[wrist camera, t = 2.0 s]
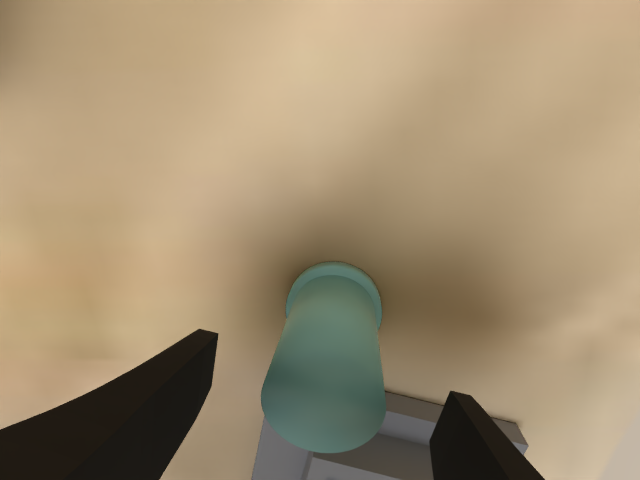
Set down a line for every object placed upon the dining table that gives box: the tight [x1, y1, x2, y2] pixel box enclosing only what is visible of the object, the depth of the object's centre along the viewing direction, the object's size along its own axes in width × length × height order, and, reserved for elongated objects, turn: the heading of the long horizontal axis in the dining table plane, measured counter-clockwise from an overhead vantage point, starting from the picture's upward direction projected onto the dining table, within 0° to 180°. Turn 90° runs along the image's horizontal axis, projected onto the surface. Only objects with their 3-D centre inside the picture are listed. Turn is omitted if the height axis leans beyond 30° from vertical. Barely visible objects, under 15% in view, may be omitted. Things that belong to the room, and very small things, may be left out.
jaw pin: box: [261, 261, 386, 453], centre depth 12 cm, size 4×4×6 cm
